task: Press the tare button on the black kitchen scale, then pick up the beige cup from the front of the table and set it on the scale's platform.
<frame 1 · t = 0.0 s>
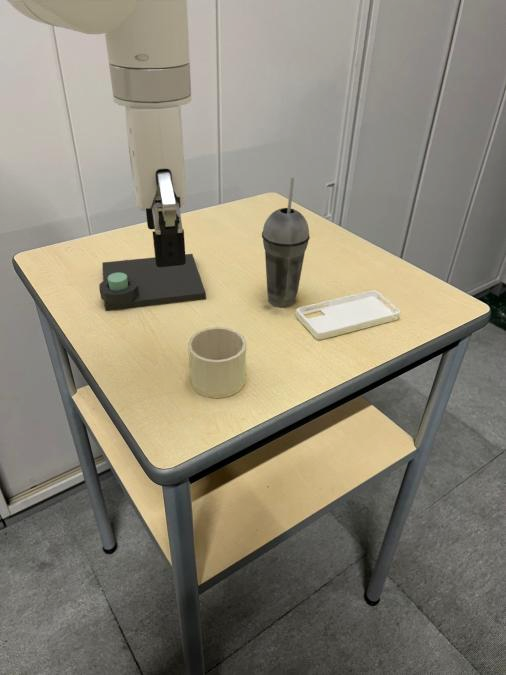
hand: (165, 245, 60), 18 cm above the table, tool pointing down, fingers open, 9 cm apart
beige cup: (218, 379, 69), on the table
beverage cup: (281, 301, 85), on the table
tare button: (118, 281, 81), point 3 cm above the table, slide at 0.1 cm
scale: (152, 283, 88), on the table
phone case: (347, 318, 81), on the table
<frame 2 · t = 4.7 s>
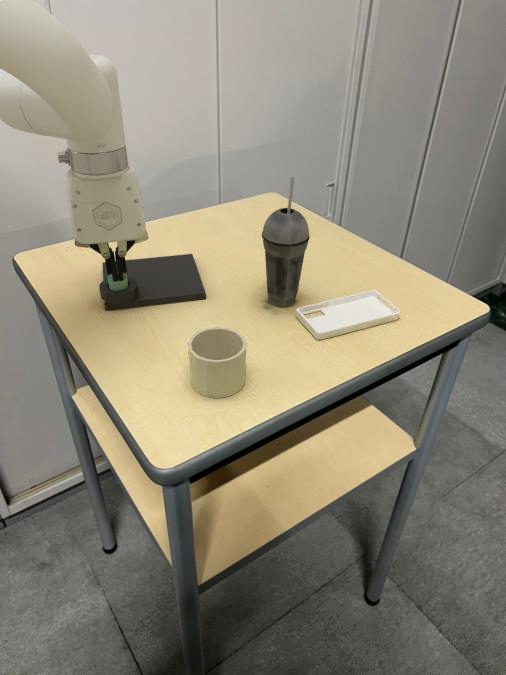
hand: (118, 276, 81), 4 cm above the table, tool pointing down, fingers closed
tare button: (118, 282, 81), point 3 cm above the table, slide at 0.1 cm, touching gripper
everything else where it was.
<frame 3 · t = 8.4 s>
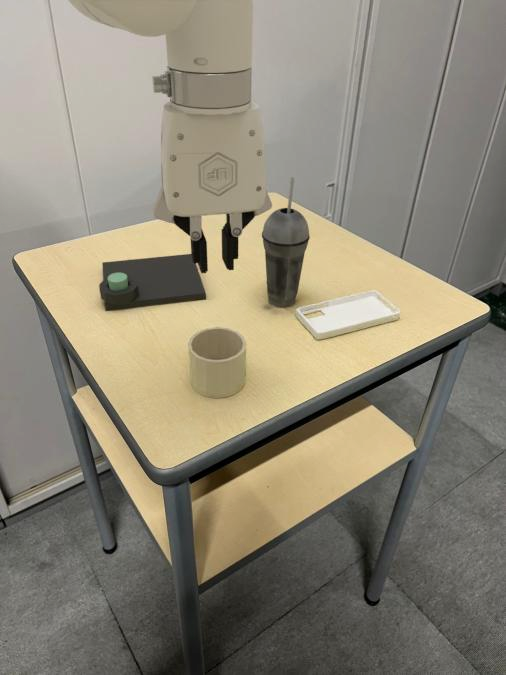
hand: (215, 264, 58), 17 cm above the table, tool pointing down, fingers closed
tare button: (118, 281, 81), point 3 cm above the table, slide at 0.1 cm
everything else where it was.
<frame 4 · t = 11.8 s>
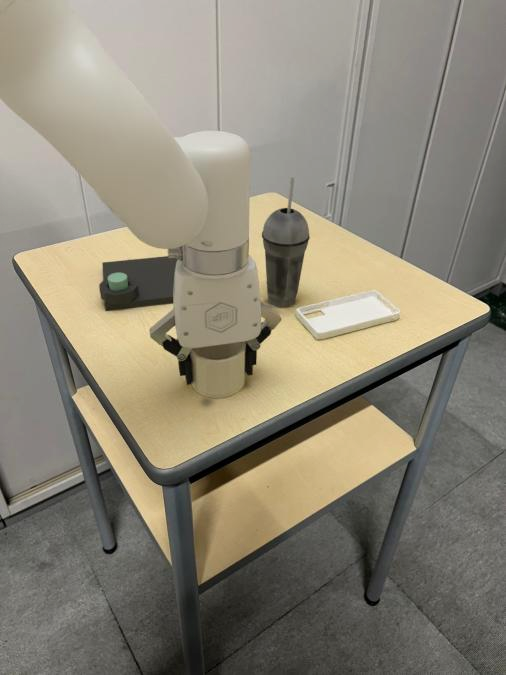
hand: (218, 372, 68), 1 cm above the table, tool pointing down, fingers closed on beige cup, 7 cm apart
beige cup: (218, 379, 69), on the table, touching gripper
everything else where it was.
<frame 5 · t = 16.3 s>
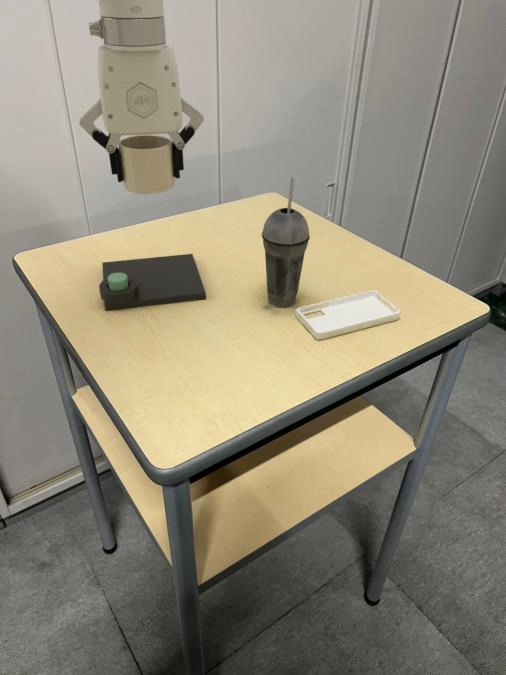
hand: (148, 176, 73), 20 cm above the table, tool pointing down, fingers closed on beige cup, 7 cm apart
beige cup: (149, 184, 74), point 19 cm above the table, touching gripper
everything else where it was.
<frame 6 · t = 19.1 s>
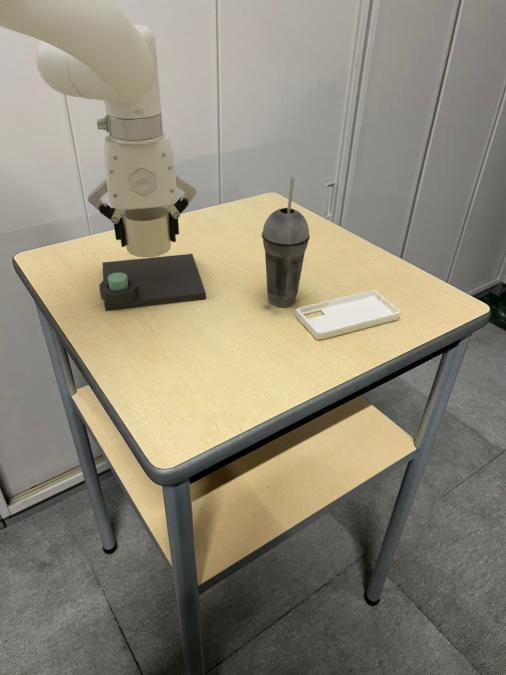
hand: (148, 240, 84), 8 cm above the table, tool pointing down, fingers closed on beige cup, 7 cm apart
beige cup: (148, 247, 84), point 7 cm above the table, touching gripper
everything else where it was.
when the fingers open (2 cm above the table, at t = 21.2 s): beige cup stays where it is, resting on scale.
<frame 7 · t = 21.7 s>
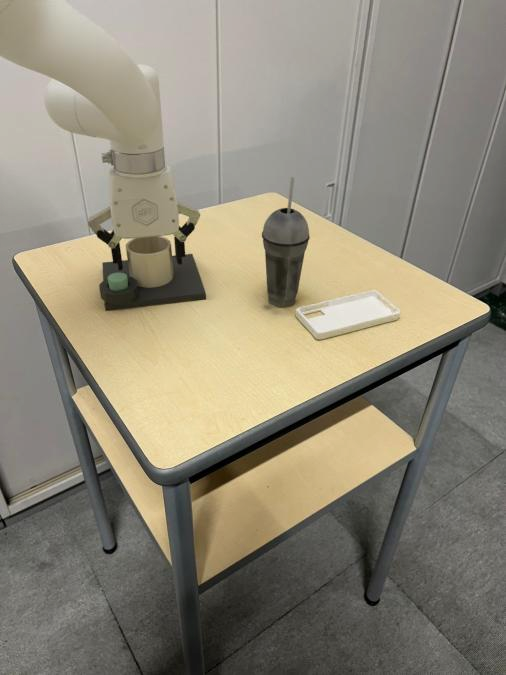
hand: (150, 263, 86), 4 cm above the table, tool pointing down, fingers open, 9 cm apart
beige cup: (151, 276, 88), point 1 cm above the table, touching scale
everything else where it was.
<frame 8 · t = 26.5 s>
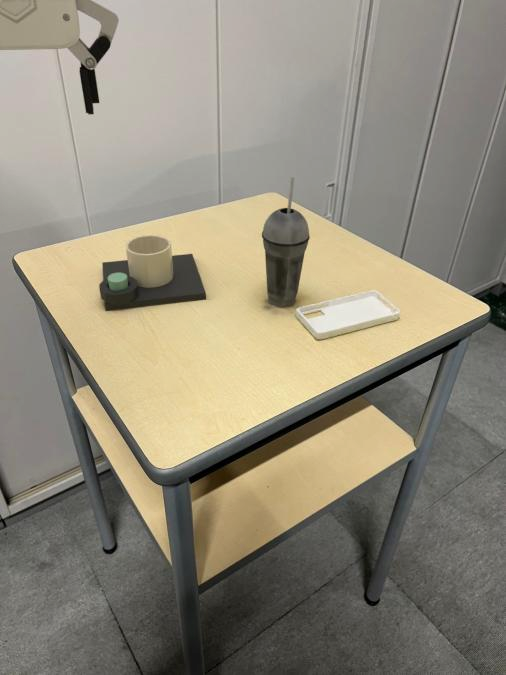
hand: (40, 113, 51), 32 cm above the table, tool pointing down, fingers open, 9 cm apart
nothing on the table moved.
at the end: tare button pushed in 1.1 cm at the most during the clip, back to where it started at the end; beige cup inside the target area on the scale (0.0 cm from its centre), point 1.2 cm above the scale's base; beige cup touching scale; beige cup tilted 0° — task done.
